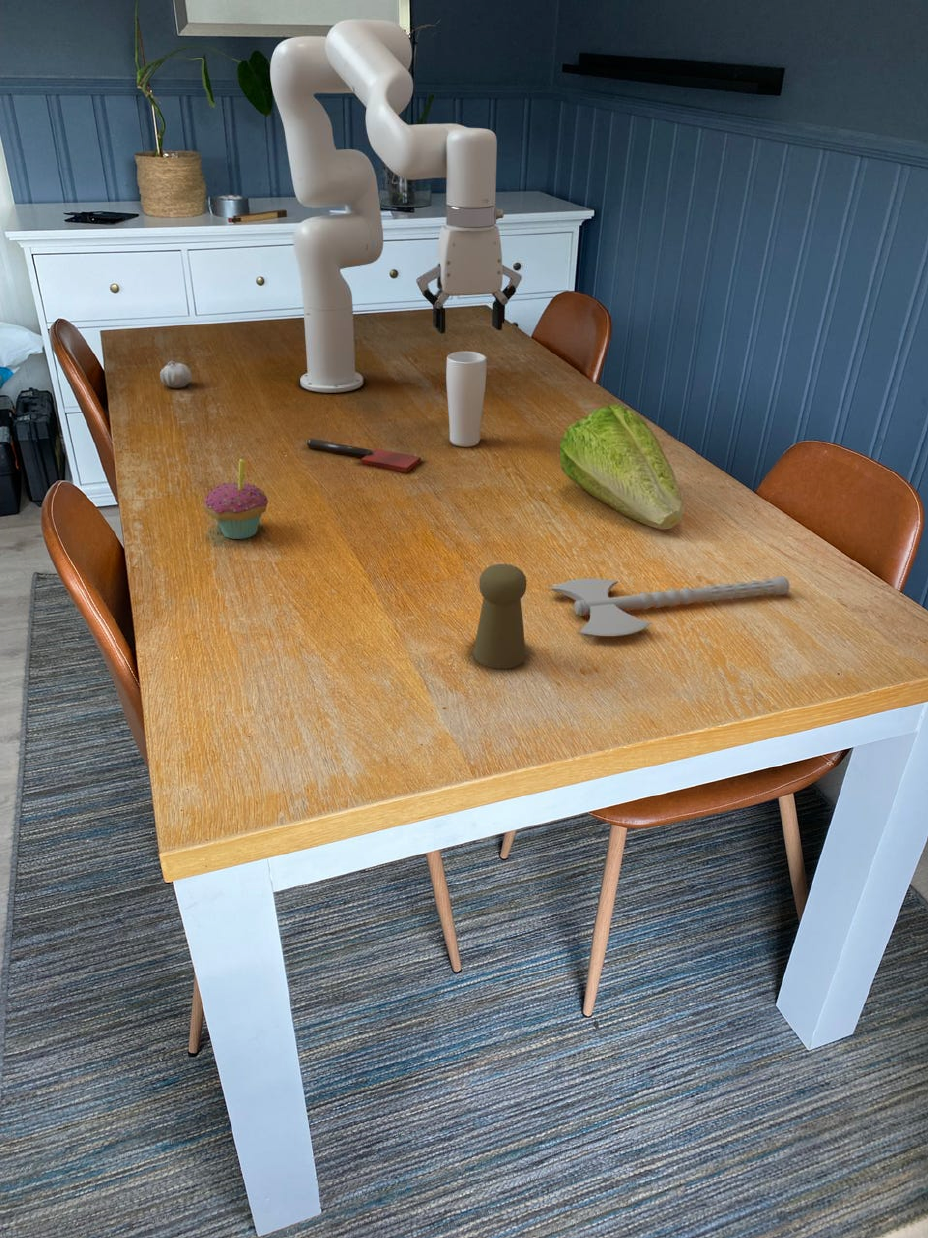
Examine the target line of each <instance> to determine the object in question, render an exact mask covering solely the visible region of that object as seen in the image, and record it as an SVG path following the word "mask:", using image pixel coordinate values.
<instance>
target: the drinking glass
mask: <svg viewBox="0 0 928 1238" xmlns="http://www.w3.org/2000/svg"><path fill="white" fill-rule="evenodd" d="M445 365H446V366H445V367H446V368H445V384H446V397H447V398H446V399H447V413H448V427H449V429H448V430H449V434H448V435H449V438H448V439H449V442H450V443H451V444H452V445H453V446H457V447H460V448H461V447H462V448H469V447H474V446H476V445H478V444H479V443H480V441H481V428H482V420H483V412H484V411H483V410H484V402H485V394H486V386H487V357H486V355H484V353H483V354H482V353H479V352H476V351H457V352H451V353H449V354H448V355H447V356H446V364H445Z"/></svg>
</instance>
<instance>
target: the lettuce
mask: <svg viewBox="0 0 928 1238" xmlns="http://www.w3.org/2000/svg"><path fill="white" fill-rule="evenodd" d="M559 461H560V466H561V471H562V472H563V473H564V474H565V475H566V476H567V477H568V479H569V480H571V481H572V482H573V483H575V484H576V485H577V486H579V487H581V489H583V490H584V491H586V492H587V493H588V494H590V495H591V496H592V497H594V499H597V500H599V501H601V502H603V503H604V504H607V506H610V508H613V509H614V510H616V511H617V512H618V513H620V514H622V515H623V516H625V517H627V518H630V519H632V520H634V521H636V522H638V523H641V524H643V525H645V526H648V527H651V528H653V529H658V530H661V531H662V530H663V531H664V530H670V529H672V528H673V527H675V526H677V524H679V522H680V521H681V520H682V518H683V516H684V502H683V496H682V493H681V490H680V485H679V483H678V480H677V477H676V474H675V471H674V470H673V468H672V466H671V464H670V462H669V460H668V458H667V457H666V454H665V452H664V450H663V448H662V446H661V444H660V442H659V440H658V438H657V437H656V435H655V434H654V433H653V431H652V430H651V429H650V427H649V426H648V424H647V423H646V421H644V419H642V418H641V417H639V415H637V414H636V413H635V412H633V411H632V410H631V409H630V408H628V407H625V406H623V405H620V404H616V403H615V404H611V405H608V406H604V407H601V408H599V409H596V410H593V411H592V412H591V413H588V414H587V415H586V416H585V417H583V418H581V419H580V420H578V421H576V422H574V423H572V424H571V425H569V426H568V427H567V430H566V431H565V432H564V434H563V436H562V437H561V440H560V442H559Z"/></svg>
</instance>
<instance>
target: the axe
mask: <svg viewBox="0 0 928 1238" xmlns="http://www.w3.org/2000/svg"><path fill="white" fill-rule="evenodd" d="M617 584H619V581H616V580H612V579H606V578H595V577H594V578H592V577H590V578H589V577H588V578H577V579H570V580H567V581H563V582H560V583H558V584H556V585H554V586H553V587H551V588H549V590H550V591H552V592H555V593H559V594H561V595H563V596H566V597H569V598H570V599H572V600H574V601H575V602H574V605H573V610H574V613H575V615H576V616H578V617H581V616H582V617H583V616H585V615H588V616H589V619H588V622H587V623H586V624H585V625H584V626H583V627H582V628H581V629H580V630H579V631H578V633H579V634H584V635H589V636H595V637H621V636H628V635H630V634H631V635H632V634H635V633H639V632H640V631H643V630H645V629H647V628H648V627H649V626H650V625H651V624H652V623H651V622H649V621H647V620H644V619H641V618H638V617H636V616H633V615H631V614H629V613H627V612H625V610H626V611H627V610H628V611H629V610H634V609H635V610H636V609H637V610H638V609H641V610H648V609H649V608H656V609H657V608H663V607H664V606H669V607H675V606H677V605H681V604H682V605H684V606H685V605H690V604H692V603H697V602H705V601H707V602H708V601H710V602H715V601H718V600H731V599H732V598H733V599H735V598H737V599H742V598H745V597H757V596H759V595H760V596H761V595H764V596H768V595H774V596H784V595H786V594H788V593H789V590H790V582H789V579H788V578H787V577H786V576H784V575H778V576H774V577H772V578H770V579H768V578H767V579H763V580H759V581H758V580H751V581H749V582H743V581H739V582H736V583H724V584H722V585H716V584H712V585H709V586H705V587H696V588H690V587H683V588H681V589H674V588H673V589H667V590H666V591H662V590H655V591H653V592H649V593H648V592H639V594H633V595H631V594H630V595H624V596H615V597H613V596H612V597H609V593H610V591H611V590H612V589H613V587H615V586H616V585H617Z"/></svg>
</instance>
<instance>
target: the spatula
mask: <svg viewBox="0 0 928 1238" xmlns="http://www.w3.org/2000/svg"><path fill="white" fill-rule="evenodd" d="M306 445H307V447H308V448H310V449H313V450H317V451H318V450H319V451H324V452H329V453H334V454H340V455H345V456H350V457H354V458H355V457H356V458H359V459H360V458H361V460H360V462H361V465H365V466H369V467H376V468H379V469H380V468H381V469H385V470H391V471H395V472H399V473H400V472H401V473H406V474H407V473H409V472H410V471H412V470H413V469H414V468H415V467H416V466H418V465H419V464H420V463H421V462H422V457H421V456H416V455H411V454H408V453H407V454H406V453H401V452H395V451H392V450H391V451H390V450H385V449H380V448H376V449H374V450H372V449H369V448H363V447H358V446H353V445H348V444H342V443H338V442H333V441H326V440H321V439H317V438H309V439H308V440H307V442H306Z"/></svg>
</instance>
